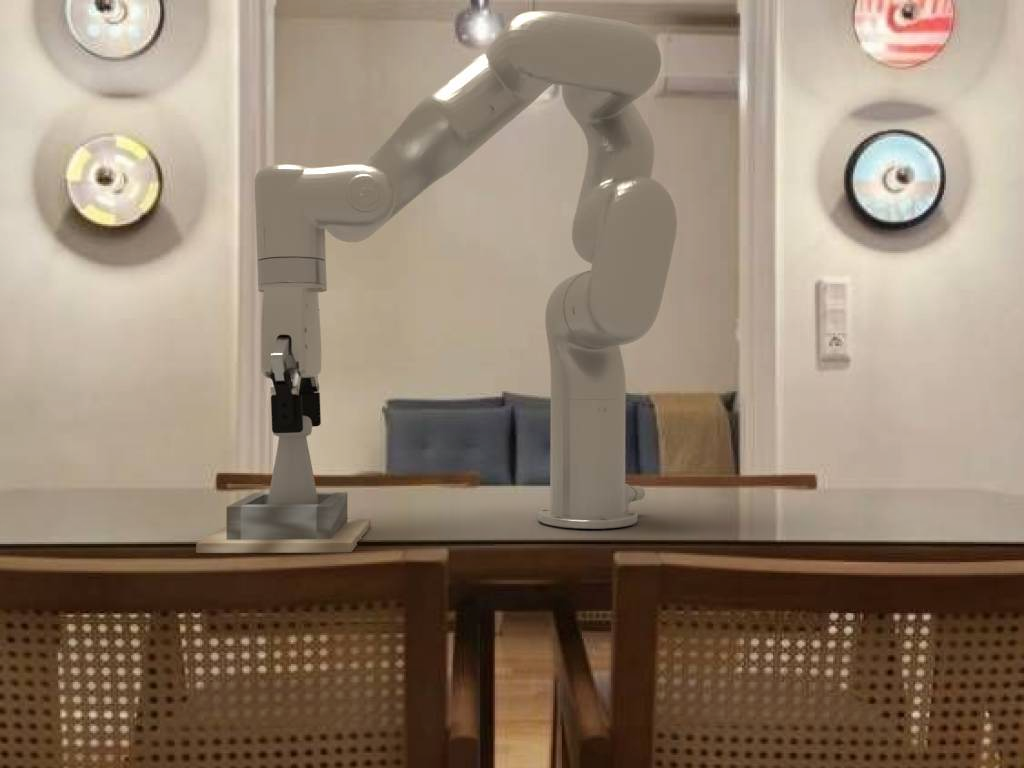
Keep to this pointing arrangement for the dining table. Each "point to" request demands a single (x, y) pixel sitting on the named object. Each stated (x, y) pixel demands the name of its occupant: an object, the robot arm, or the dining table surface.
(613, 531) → the dining table surface
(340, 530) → the holder
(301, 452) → the salt shaker
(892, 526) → the dining table surface
